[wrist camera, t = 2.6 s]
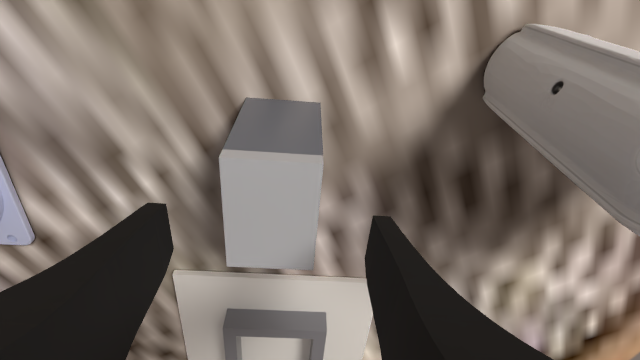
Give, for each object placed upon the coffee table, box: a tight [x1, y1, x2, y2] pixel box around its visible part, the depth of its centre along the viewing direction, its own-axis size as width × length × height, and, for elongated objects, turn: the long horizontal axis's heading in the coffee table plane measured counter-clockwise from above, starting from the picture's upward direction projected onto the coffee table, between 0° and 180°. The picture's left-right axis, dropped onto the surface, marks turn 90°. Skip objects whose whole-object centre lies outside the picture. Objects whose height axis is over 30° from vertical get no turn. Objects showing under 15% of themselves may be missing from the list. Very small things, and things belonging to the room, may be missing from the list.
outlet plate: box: [172, 270, 373, 360], centre depth 26 cm, size 13×14×2 cm
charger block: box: [219, 98, 323, 270], centre depth 16 cm, size 4×5×6 cm
